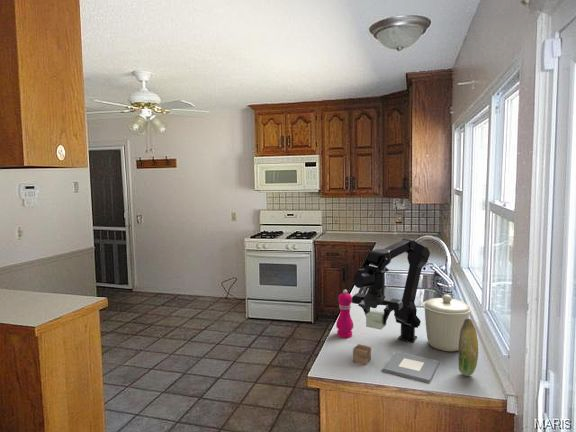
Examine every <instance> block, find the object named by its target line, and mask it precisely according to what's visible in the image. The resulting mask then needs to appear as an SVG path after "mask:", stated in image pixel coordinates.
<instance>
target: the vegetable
mask: <svg viewBox="0 0 576 432" xmlns="http://www.w3.org/2000/svg"><path fill="white" fill-rule="evenodd" d="M457 352H458V370H459V373H460V374H461V375H463V376H465V377H469V376H472V375H473V374H474V373H475V371H476V368H477V365H478V359H479V338H478V334H477V329H476V327H475V325H474V322H473V320H472V319H471V318H470V317H469V318H466V319H465V320H464V323H463V325H462V327H461V330H460V338H459V349H458V351H457Z"/></svg>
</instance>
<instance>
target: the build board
mask: <svg viewBox="0 0 576 432" xmlns="http://www.w3.org/2000/svg"><path fill="white" fill-rule="evenodd" d="M440 362H441V361H440V360H436V359H432V358H428V357H422V356H418V355H413V354H410V353H405V352H400V351H395V352H394V353H393V354H392V355H391V357H390V358H389V359H388V360H387V362H386V363H385V364H384V365H383V366H382V367H381V372H385V373H387V374H388V373H389V374H392V375H397V376H400V377H404V378H409V379H412V380H417V381H421V382H424V383H428V382H429V383H428V384H430V383H431V381H432V380H433V377H434V375H435V373H436V371H437V369H439V368H438V367H439V366H440Z"/></svg>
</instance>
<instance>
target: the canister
mask: <svg viewBox="0 0 576 432" xmlns="http://www.w3.org/2000/svg"><path fill="white" fill-rule="evenodd" d="M422 306H423V308H424V317H425V318H424V319H425V320H424V321H425V328H426V329H425V330H426V339H427V341H428V343H429V345H430V346H431V347H433V348H434V349H436V350H439V351H444V352H458V349H459V338H460V330H461V327H462V325H463V323H464V320H465V319H466V318H469V319H470V314H471V312H472V311H473V310H472V307H471V306H470V305H468V304H467V303H466V302H464V301H461V300H459V299H454V298H453V297H452V295H450V294H443V295H442V297H434V298H429V299H427V300H425V301H424V302H423V303H422Z"/></svg>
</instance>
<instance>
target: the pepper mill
mask: <svg viewBox="0 0 576 432" xmlns="http://www.w3.org/2000/svg"><path fill="white" fill-rule="evenodd" d="M337 297H338V298H337V301H338V304H339V306H338V308H339V310H340V311H339V316H338V318H337V320H336V324H335V326H336V329H337V333H336V334H337V337H339V338H343V339H349V338H351V337H353V331H352V330H353V329H354V322H353V319H352V316H351V313H350V312H351V309H352V297H353V296H352V295H351V294H350V293H349V292H348V290H347V289H343V291H342V293H340V294H339V295H338V296H337Z"/></svg>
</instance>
